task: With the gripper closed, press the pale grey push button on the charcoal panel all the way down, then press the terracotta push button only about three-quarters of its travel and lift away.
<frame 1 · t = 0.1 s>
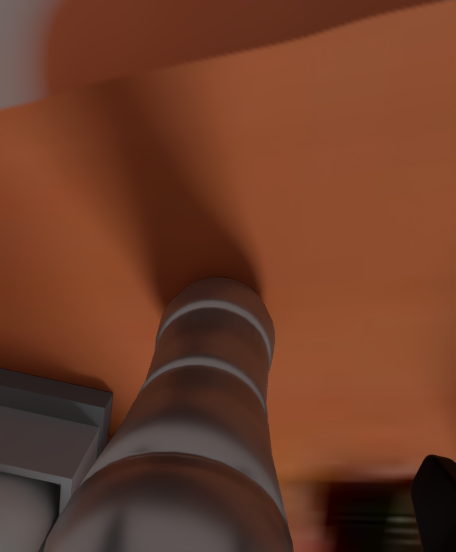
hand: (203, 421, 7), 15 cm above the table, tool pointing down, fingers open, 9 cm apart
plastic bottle: (220, 315, 23), on the table
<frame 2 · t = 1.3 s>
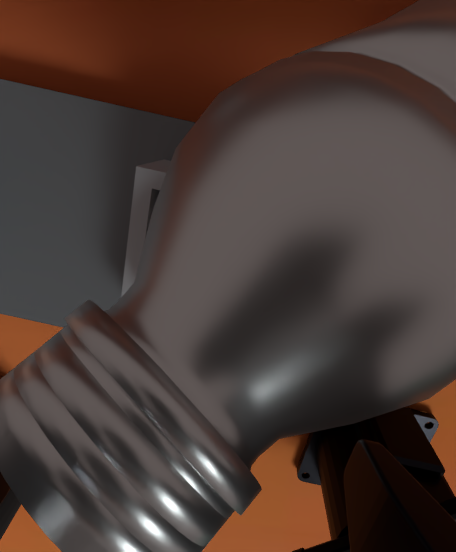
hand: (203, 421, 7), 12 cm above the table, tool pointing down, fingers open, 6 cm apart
button panel: (78, 217, 19), on the table
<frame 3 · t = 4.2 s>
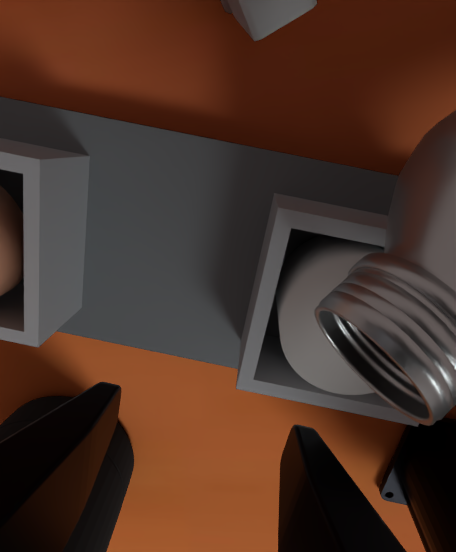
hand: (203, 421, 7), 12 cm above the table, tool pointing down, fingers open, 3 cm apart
grey button: (344, 308, 16), point 4 cm above the table, slide at 2.4 cm
button panel: (177, 246, 19), on the table
pen holder: (73, 444, 25), on the table
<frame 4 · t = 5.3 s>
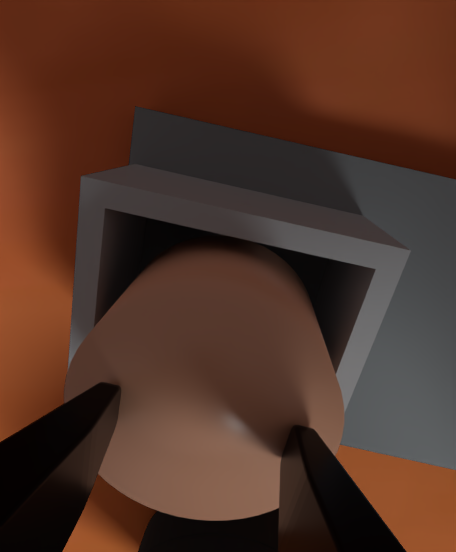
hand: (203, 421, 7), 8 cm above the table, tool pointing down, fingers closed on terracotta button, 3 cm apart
button panel: (422, 323, 15), on the table
terracotta button: (212, 364, 9), point 6 cm above the table, slide at 0.4 cm, touching gripper
pen holder: (224, 537, 20), on the table
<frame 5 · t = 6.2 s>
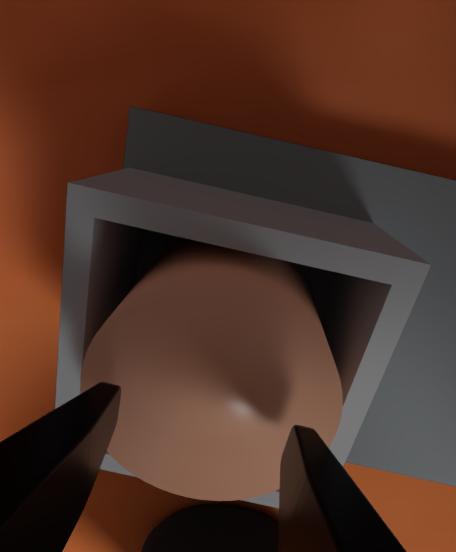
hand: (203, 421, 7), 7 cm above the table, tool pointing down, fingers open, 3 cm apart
button panel: (434, 335, 14), on the table
terracotta button: (217, 354, 10), point 5 cm above the table, slide at 1.8 cm
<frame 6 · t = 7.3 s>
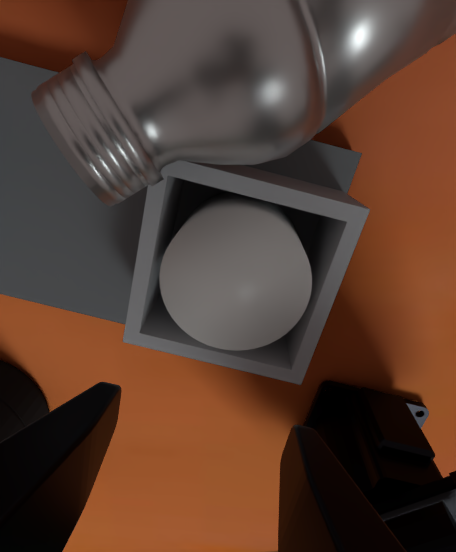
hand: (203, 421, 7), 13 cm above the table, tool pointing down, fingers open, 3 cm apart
grey button: (236, 266, 16), point 4 cm above the table, slide at 2.4 cm
button panel: (86, 202, 19), on the table
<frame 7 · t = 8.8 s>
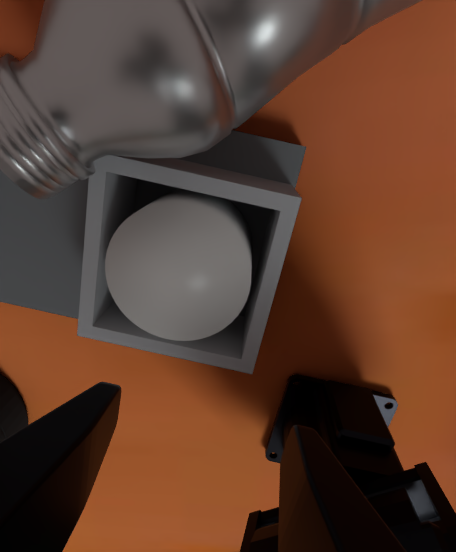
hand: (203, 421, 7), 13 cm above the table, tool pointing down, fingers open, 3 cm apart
grey button: (186, 260, 16), point 4 cm above the table, slide at 2.4 cm
button panel: (50, 204, 20), on the table
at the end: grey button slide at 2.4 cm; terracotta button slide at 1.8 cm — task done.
